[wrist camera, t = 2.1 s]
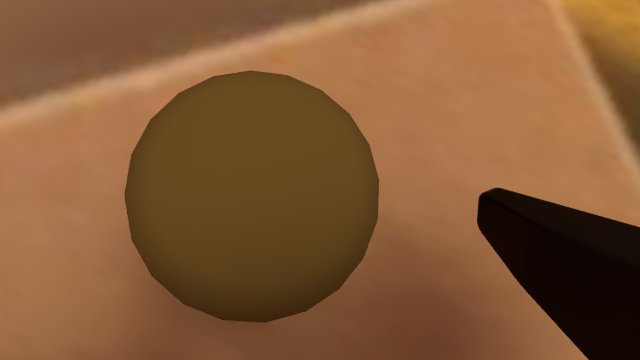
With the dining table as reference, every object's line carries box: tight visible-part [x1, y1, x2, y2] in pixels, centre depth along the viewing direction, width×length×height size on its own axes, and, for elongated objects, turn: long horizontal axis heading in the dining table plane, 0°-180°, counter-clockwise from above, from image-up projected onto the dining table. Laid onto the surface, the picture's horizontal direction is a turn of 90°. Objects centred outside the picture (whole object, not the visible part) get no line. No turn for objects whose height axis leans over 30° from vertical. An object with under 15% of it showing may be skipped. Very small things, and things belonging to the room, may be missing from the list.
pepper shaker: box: [125, 71, 379, 322], centre depth 13 cm, size 6×6×11 cm
